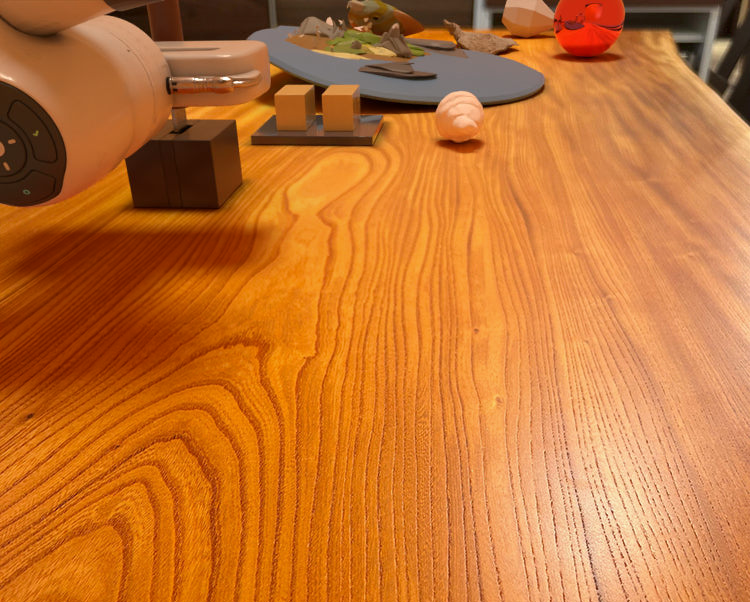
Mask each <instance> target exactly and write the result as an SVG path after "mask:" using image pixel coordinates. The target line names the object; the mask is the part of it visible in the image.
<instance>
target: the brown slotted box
mask: <svg viewBox="0 0 750 602" xmlns="http://www.w3.org/2000/svg"><path fill="white" fill-rule="evenodd" d="M187 124H188V130H186V131H185V132H184V133H182V134H174V128H173V121H172V118H168V120H167V122H166V124H165V125H164V127H163V128H162V129H161V130H160V132H159V133H158V134H157V135H155V136H154V137H153V138H152V139H151V140H149V141H148V142H147V143H146V144H144V145H143V146H142V147H141V148H140V149H138V150H137V151H136V152H135V153H133V154H132V155H131V156H129V157H127V158H126V159H124V162H125V168H126V172H127V178H128V185H129V188H130V194H131V199H132V205H133V207H134V208H168V209H169V208H170V209H171V208H173V209H176V208H177V209H178V208H179V209H182V208H184V209H220V208H221V207H222V206H223V204H225V202H226V201H227V200H228V199H229V198H230V197H231V195H233V194H234V193H235V191H236V190H237V189H238V188H239V187H240V186H241V185H242V184H243V182H244V179H243V171H242V163H241V155H240V154H241V153H240V144H239V136H238V134H239V133H238V125H237V120H236V119H220V118H219V119H213V118H212V119H208V118H207V119H205V118H204V119H201V118H199V119H198V118H192V119H191V118H187Z"/></svg>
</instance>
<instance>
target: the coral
mask: <svg viewBox="0 0 750 602" xmlns="http://www.w3.org/2000/svg"><path fill="white" fill-rule="evenodd" d="M442 22H443V25H444V27H445V29H446V30H447V32H448V33H449V35H450V36H452V37H453V38H454V40H455V42H456V46H458V47H457V48H458V49H464V50H471V51H477V52H483V53H488V54H493V55H497V54H498V53H501V52H506V51H507V49H510V48H512V47H513V46H520V44H519V43H518V42H517V41H515V40H514V39H513V38H511V37H510V38H509V37H507V38H506V37H501V36H500V35H496V34H494V33H492V32H486V33H485V32H474V31H473V32H471V31H463V30H462V28H461V26H460V25H458V24H457V23H455V22H454V21H453V22H449V21H448V20H447V19H442Z"/></svg>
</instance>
